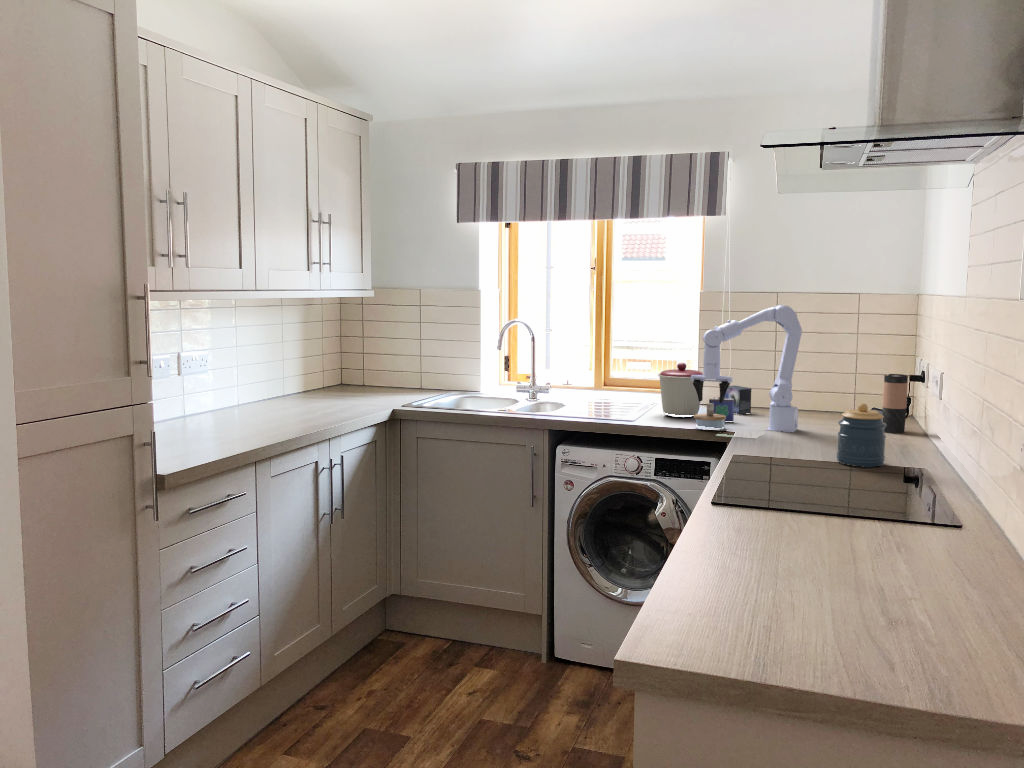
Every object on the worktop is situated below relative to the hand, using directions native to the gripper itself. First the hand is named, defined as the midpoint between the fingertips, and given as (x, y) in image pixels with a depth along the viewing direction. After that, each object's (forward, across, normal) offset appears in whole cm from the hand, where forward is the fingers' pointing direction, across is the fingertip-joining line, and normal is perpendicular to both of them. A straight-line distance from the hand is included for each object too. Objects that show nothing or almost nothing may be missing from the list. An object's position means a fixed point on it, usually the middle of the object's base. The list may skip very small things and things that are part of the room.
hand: (710, 401), depth 308 cm
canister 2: (+10, -56, +34) cm, 66 cm away
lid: (+6, 0, 0) cm, 6 cm away
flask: (+10, +1, -16) cm, 19 cm away
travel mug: (+10, -57, -27) cm, 64 cm away
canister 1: (+10, +19, -22) cm, 31 cm away
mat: (+10, -13, +6) cm, 17 cm away
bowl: (+10, 0, 0) cm, 10 cm away
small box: (+10, +3, -42) cm, 43 cm away
